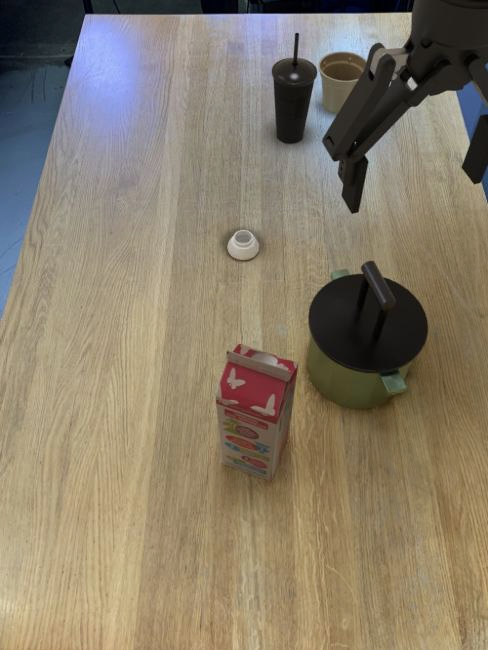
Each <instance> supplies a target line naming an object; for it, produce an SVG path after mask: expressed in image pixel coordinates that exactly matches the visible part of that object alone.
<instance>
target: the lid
mask: <svg viewBox="0 0 488 650" xmlns="http://www.w3.org/2000/svg"><path fill="white" fill-rule="evenodd" d="M377 265H378V264H377V263H376V262H375V261H374V260H368V261H365V262H364V263H362V265H361V266H360V271H361V273H352V274H350V275H346V276H343V277H339V278H337V279H335V280H333V281H332V280H331V281H329V282H328V283H326V284H324V286H322V287H321V288H320V289H319V290H318V291H317V293H316V294H315V295H314V297H313V298H312V300H311V303H310V306H309V309H308V315H307V317H308V318H307V321H308V322H307V323H308V328H309V334H310V333H311V335H312V338H313V340H314V342H315V343H316V345H317V346H318V347H319V349H320V350H321V351H322V352H323V353H324V354H325V355H326V356H327V357H328V358H330V359H331V360H332V361H334V362H335V363H337V364H339V365H341V366H343V367H345V368H348V369H350V370H353V371H357V372H362V373H373V374H377V373H386V372H391V371H394V370H397V369H400V368H402V367H404V366H406V365H407V364H409V363H410V362H413V361H414V360H415V359H416V358H417V357H418V356H419V355H420V353H421V352H422V350H423V349H424V347H425V344H426V342H427V339H428V335H429V323H428V322H429V321H428V317H427V314H426V311H425V309H424V307H423V305H422V304H421V303H420V301H419V299H418V298H417V297H416V296H415V295H414V294H413V292H411V291H410V290H409V289H408V288H406V287H405V286H404V285H402V284H400V283H399V282H397V281H394V280H393V279H390V278H388V277H384V276H383V274H382V273H381V271H380V269H379V266H377Z"/></svg>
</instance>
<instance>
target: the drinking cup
mask: <svg viewBox="0 0 488 650" xmlns="http://www.w3.org/2000/svg"><path fill="white" fill-rule="evenodd" d="M299 41H300V32H295V33H294V43H293V56H292V57H286V58H283V59H280V60H278V61H277V62H275V63H274V64H273V65H272V67H271V77H272V79H273V95H274V97H273V98H274V114H275V116H274V117H275V131H276V139H277V140H278V141H279V142H281V143H283V144H286V145H293V144H297V143H299V142H301V141H302V140H303V138H304V133H305V128H306V124H307V118H308V114H309V108H310V104H311V98H312V94H313V91H314V90H313V89H314V85H315V80H316V79H317V76H318V69H317V68H318V67H317V66H316V65H315V64H314V63H313V62H312V61H310V60H308V59H305V58H301V57H299V43H300V42H299Z"/></svg>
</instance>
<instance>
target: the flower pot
mask: <svg viewBox="0 0 488 650" xmlns="http://www.w3.org/2000/svg"><path fill="white" fill-rule="evenodd" d="M366 62H367V59H366V58H365V57H364V56H362V55H360V54H358V53H355V52H352V51H346V50H345V51H343V50H341V51H333V52H330V53H327V54H325V55H324V56H322V57H321V58H320V59H319V61H318V63H317V68H318V69H317V70H318V72H319V76H320V78H321V96H322V97H321V98H322V100H321V101H322V107H323V108H324V109H325V110H326V111H327V112H328V113H331V114H335V115H337V114H338V112H339V111H340V109H341V107H342V106H343V104H344V102H345V101H346V99H347V97H348V96H349V94H350V93H351V91H352V89H353V88H354V86H355V84H356V83H357V81H358V79H359V78H360V76H361V74H362V73H363V71H364V69H365V66H366Z"/></svg>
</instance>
